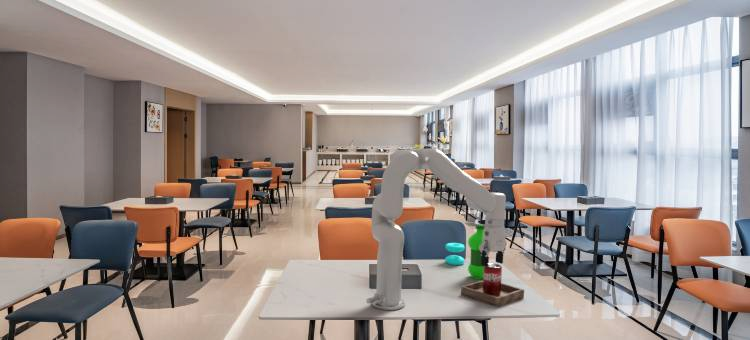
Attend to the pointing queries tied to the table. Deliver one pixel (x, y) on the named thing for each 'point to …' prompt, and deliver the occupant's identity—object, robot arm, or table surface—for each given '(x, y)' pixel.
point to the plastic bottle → (476, 252)
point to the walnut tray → (505, 297)
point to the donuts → (454, 258)
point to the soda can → (492, 279)
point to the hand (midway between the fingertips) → (492, 264)
